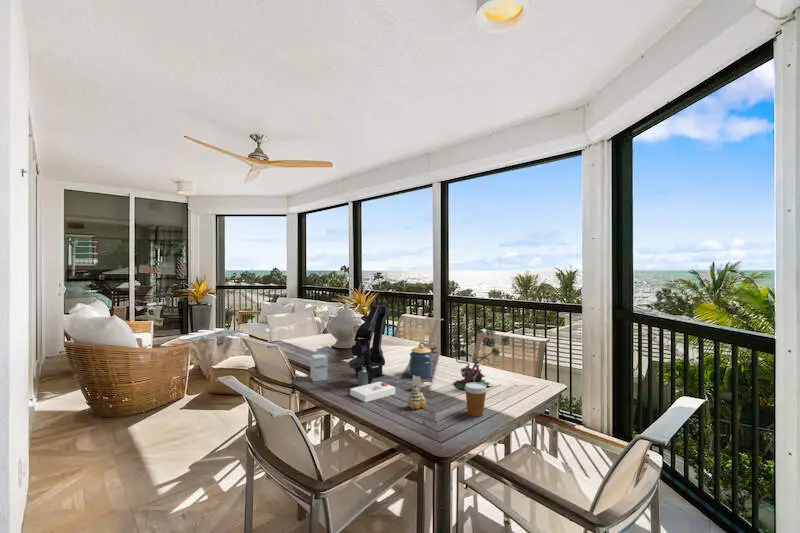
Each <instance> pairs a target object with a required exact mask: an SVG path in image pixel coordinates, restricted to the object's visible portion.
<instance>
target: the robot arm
mask: <svg viewBox="0 0 800 533" xmlns="http://www.w3.org/2000/svg"><path fill="white" fill-rule="evenodd" d="M389 313H390V308H389V307H388V306H387V305H382V304H381V305H378V304H376V305H371V306H370V310H369V312H368V314H367V317H366V319H365V321H364V322H363V323H362V324H360V326H359V327H358V328H357V329H356V333H355V337H354V340H353V341H354V342H355V343H354V345H352V347H351V348H350V350H351V351H350V352H351V354H352V355H353V356H355V357H354V358H352V359H350V360H349V361H348V365H349V367H350V368H349V369H353V370H354V372H355V376H356V379H357V380H358V371H363V369H364V368H365V370H366V371H367V372H366V373H367V374H368V384H372V383H373V380H374V378H375V379H376V378H379V377H384V376H385V374H383V366H385V365H386V359H385V357H384V351H383V350H382V347H381V346H382V339H383V333H384V332H383V331H384V323H385V321H386V320H387V318H388V315H389ZM373 327H374V329H373ZM372 338H373V340H372ZM371 342H372V344H371ZM371 345H372V346H371Z"/></svg>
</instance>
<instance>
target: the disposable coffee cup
mask: <svg viewBox="0 0 800 533" xmlns="http://www.w3.org/2000/svg"><path fill="white" fill-rule="evenodd" d="M463 390H464V391H465V400H466V408H467V410H466V411H467V414H468V415H469V416H472V417H481V416H484V408H485V402H486V396H487V391H488V387H487V388H486V385H484V384H482V383H477V382H470V383H467V384H466V385H465V387H464V389H463Z"/></svg>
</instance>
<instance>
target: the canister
mask: <svg viewBox="0 0 800 533" xmlns="http://www.w3.org/2000/svg"><path fill="white" fill-rule="evenodd" d="M410 350H411V352H410V353H409V357H410V359H409V371H408V372H409V376H410V377H411V378H413V375H414V376H416V377H419V376H420V377H419V378H422V379H430V378H431V377H432V376H433V359H432V358H433V355H434V354H433V353H432V350H431V349H430V347H428V346H427V347H426V346H424V344H423V343H420V344H419V345H418V346H414V347H413V348H411V349H410Z"/></svg>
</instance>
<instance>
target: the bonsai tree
mask: <svg viewBox="0 0 800 533" xmlns="http://www.w3.org/2000/svg"><path fill="white" fill-rule="evenodd" d="M481 328H483V326H482V325H481V326H480V325H477V326H476V327H475V330H474V331H473V332H474V333H475V334H477V333H478V335H479V334H480V335H481V333H484V331H483V329H481ZM485 333H486V334H487V336H485V337H484V336H482V337H483V339H482V346H485V347H486V348H487V347H489V348H491V351H490V352H489V353H488V354H487V355H485V354H484V352H483V348H481V352H482V356H476V357H475V358H473V357H471V355H470V354H469V352H468V350H464V349H463V348H464V347H463V345H462V344H461V342H460V341H457V340H456V341H454V342H453V346H452V348H453V349H454V351H456V350H458V351H459V354H457V355H453V357H455V362H456V363H458V364H467V365H465V367H464V366H463V367H461V368H460V369H461V370H460V373H461V378H463V379H461V380H456V381H454V382H452V384H454V385H455V387H456V388H459V389H460V390H465V389H464V387H465V385H466V384H467V383H470V382H477V383H482V384H484V385H486V387H487V386H488V385H489V383H490V382H487V381H486V379H483V378H485V377H486V375H484V374H483V373H482V370H481V369H480V365H479V363H480V362H481V361H483V360H487V364H488V365H490V366H494V367H495V366H496V367H497V366H498V367H499V366H500V365H501V361H499V360H498V361H495V363H496V364H491V363H489V362H490V359H489V358H488V357H489V356H490V355H491V354H493V355H494V357H495V358H497V357H500V356H501V355H500V354H501V352H500V351H499V350H500V349H499V348H498V347H495V340H494V338H493V337H492V336H493V334H494V335H496V330H494V328H493V327H491V326H490V327H489V326H488V327H486V329H485ZM490 335H491V336H490ZM490 337H491V338H490ZM501 340H502V341H501V342H500V344H501V343H502V344H503V345H505V346H507V345H510V344H511V343H510V342H511V341H510V338H509V336H508V335H506V336H505V337H503V338H502V339H501ZM493 347H495V348H493ZM459 355H460V358H463V357H465V359H468V357H469V358H470V359H471V360H473V362H474V364H473V365H472V368H471V367H470V366H471V364H470V363H469V362H468V361H458V357H457V356H459ZM477 359H479V360H477ZM497 363H499V364H497ZM487 388H488V387H487Z"/></svg>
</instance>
